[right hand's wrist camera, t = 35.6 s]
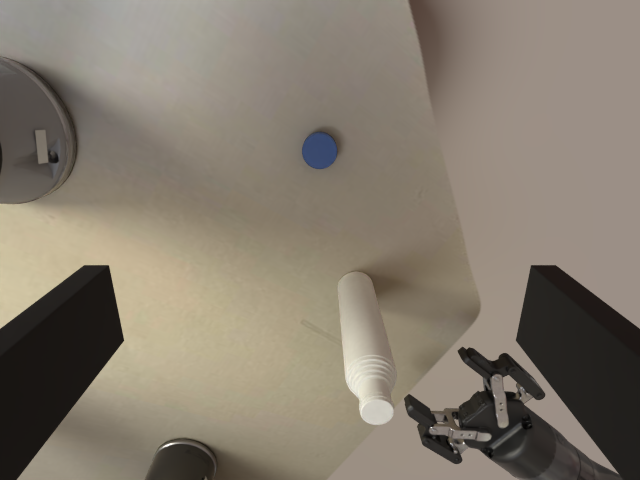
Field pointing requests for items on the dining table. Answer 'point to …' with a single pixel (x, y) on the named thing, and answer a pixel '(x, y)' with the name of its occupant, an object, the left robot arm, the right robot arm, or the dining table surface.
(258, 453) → the dining table surface
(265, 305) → the dining table surface
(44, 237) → the dining table surface
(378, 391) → the bottle
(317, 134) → the cap
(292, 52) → the dining table surface
